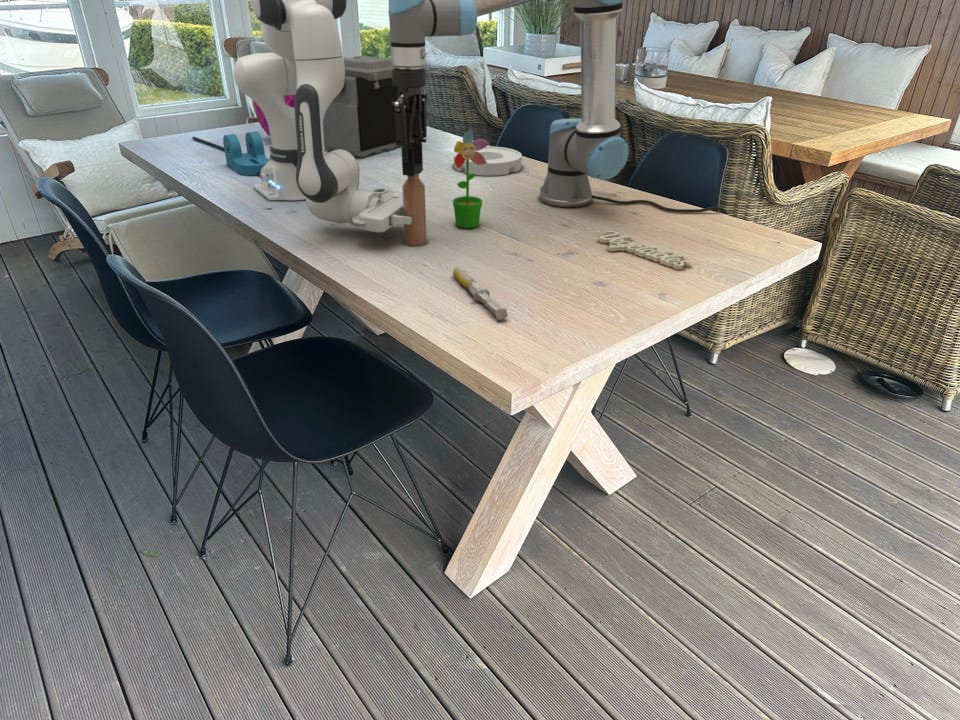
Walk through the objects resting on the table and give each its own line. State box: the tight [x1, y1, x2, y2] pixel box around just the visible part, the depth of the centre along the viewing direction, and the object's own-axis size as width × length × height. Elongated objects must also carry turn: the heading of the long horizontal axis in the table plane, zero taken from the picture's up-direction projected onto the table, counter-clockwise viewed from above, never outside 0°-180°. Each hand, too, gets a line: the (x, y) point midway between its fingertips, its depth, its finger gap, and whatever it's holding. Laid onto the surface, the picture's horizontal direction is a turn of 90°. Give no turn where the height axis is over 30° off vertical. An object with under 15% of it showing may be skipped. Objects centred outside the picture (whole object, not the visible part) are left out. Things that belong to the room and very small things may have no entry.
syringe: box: [452, 266, 509, 321], centre depth 145 cm, size 25×4×3 cm, turn 21°
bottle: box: [401, 174, 427, 247], centre depth 168 cm, size 5×5×18 cm
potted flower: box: [452, 129, 491, 229], centre depth 177 cm, size 9×8×25 cm
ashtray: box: [453, 145, 523, 177], centre depth 234 cm, size 23×23×4 cm
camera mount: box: [222, 131, 270, 176], centre depth 226 cm, size 18×10×10 cm, turn 35°
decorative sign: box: [599, 230, 690, 270], centre depth 167 cm, size 26×1×10 cm
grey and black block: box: [323, 55, 414, 159], centre depth 250 cm, size 37×22×30 cm, turn 144°
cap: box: [414, 163, 422, 175], centre depth 163 cm, size 4×4×2 cm
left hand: (418, 216), depth 169 cm, fingers closed on bottle, 5 cm apart
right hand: (412, 172), depth 164 cm, fingers closed on cap, 4 cm apart
